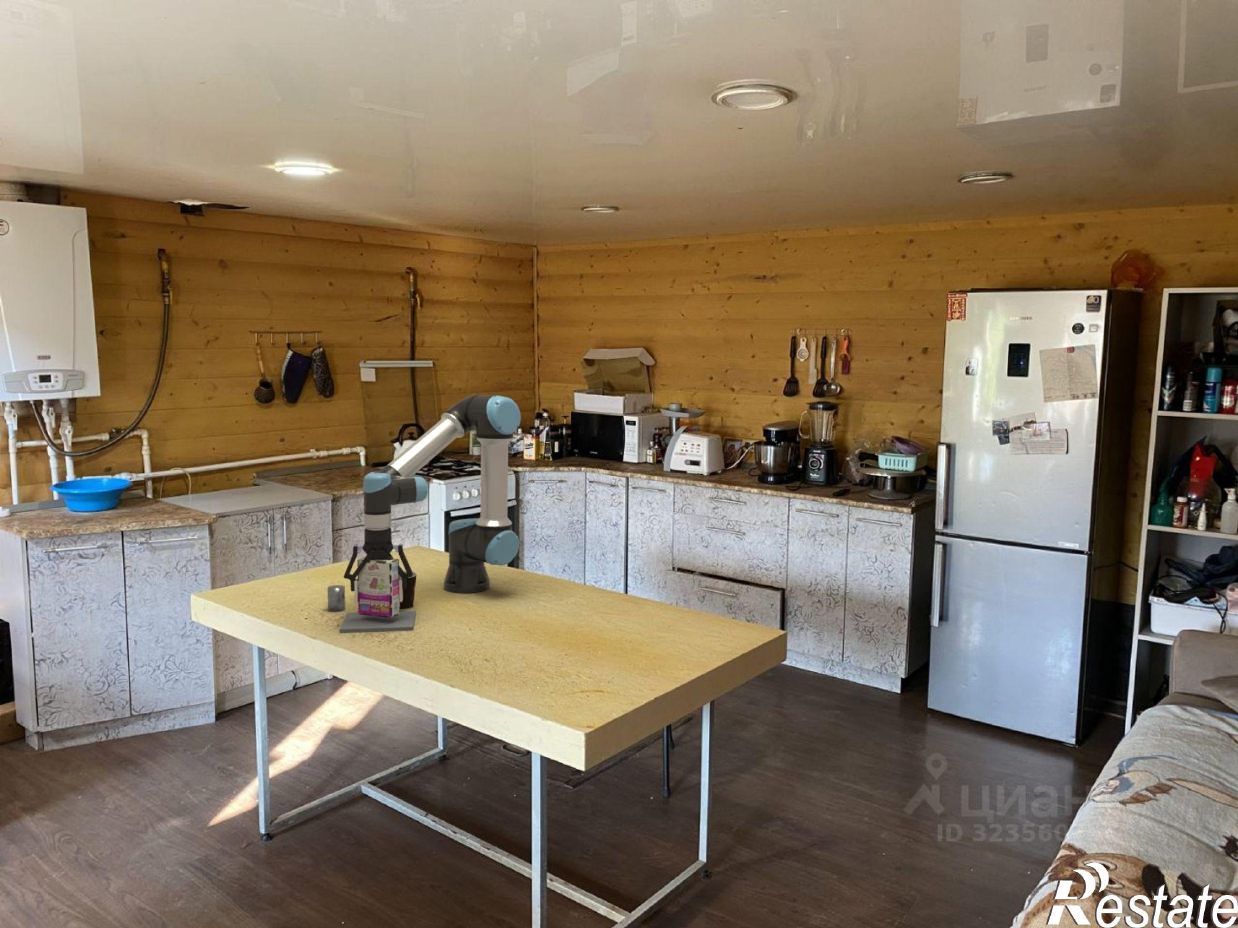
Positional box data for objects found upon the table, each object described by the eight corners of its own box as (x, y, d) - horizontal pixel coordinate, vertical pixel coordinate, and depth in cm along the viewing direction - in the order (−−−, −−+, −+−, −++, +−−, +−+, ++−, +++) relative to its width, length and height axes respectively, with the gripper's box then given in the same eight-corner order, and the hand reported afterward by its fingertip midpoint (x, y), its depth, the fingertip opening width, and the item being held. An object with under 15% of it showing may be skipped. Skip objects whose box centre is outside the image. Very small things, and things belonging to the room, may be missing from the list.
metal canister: (346, 607, 275) (345, 584, 274) (344, 611, 270) (343, 589, 269) (329, 607, 274) (328, 585, 273) (326, 612, 269) (326, 589, 268)
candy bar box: (400, 613, 260) (400, 558, 258) (391, 618, 255) (391, 562, 253) (367, 609, 263) (366, 555, 261) (357, 614, 258) (356, 559, 256)
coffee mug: (409, 611, 272) (409, 579, 270) (383, 609, 273) (382, 577, 272) (425, 600, 283) (425, 570, 282) (400, 598, 285) (399, 568, 283)
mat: (416, 613, 269) (416, 610, 269) (413, 630, 253) (412, 626, 253) (347, 615, 266) (347, 612, 266) (339, 632, 250) (339, 629, 250)
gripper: (421, 524, 262) (422, 596, 264) (336, 525, 258) (337, 598, 260) (420, 529, 254) (420, 603, 257) (332, 530, 250) (333, 606, 253)
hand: (379, 601), depth 259 cm, fingers closed on candy bar box, 12 cm apart
